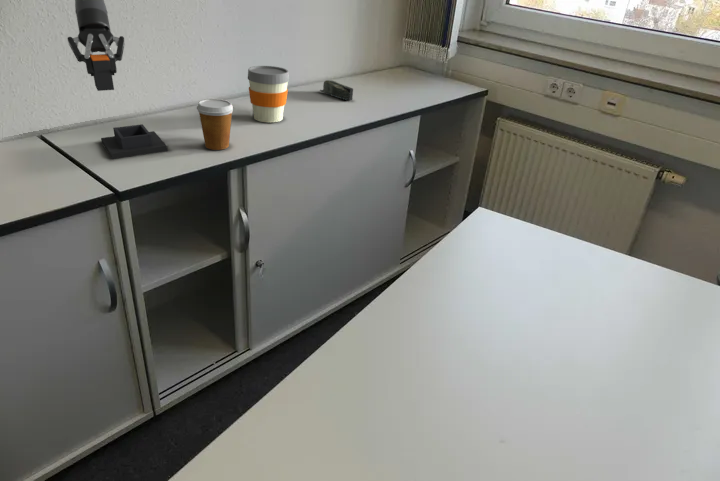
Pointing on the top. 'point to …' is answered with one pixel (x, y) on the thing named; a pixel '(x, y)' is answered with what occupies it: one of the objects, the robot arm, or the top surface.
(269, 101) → the reusable coffee cup
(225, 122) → the disposable coffee cup
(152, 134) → the base pad
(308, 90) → the top surface
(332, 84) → the dark grey block piece
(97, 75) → the pad block
